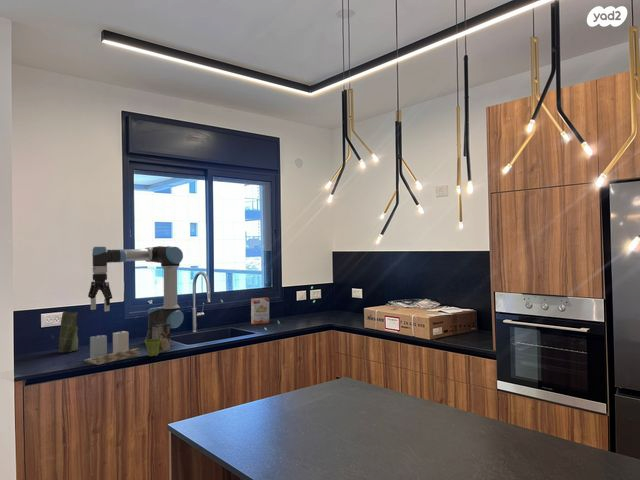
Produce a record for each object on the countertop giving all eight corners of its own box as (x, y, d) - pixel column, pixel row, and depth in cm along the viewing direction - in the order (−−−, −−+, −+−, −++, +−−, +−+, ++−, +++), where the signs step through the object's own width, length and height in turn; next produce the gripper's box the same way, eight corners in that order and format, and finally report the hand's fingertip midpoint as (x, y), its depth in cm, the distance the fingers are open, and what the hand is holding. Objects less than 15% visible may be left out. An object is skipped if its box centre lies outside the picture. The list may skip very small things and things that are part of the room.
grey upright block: (101, 355, 269) (101, 334, 269) (106, 356, 266) (106, 335, 266) (90, 358, 263) (90, 336, 263) (95, 359, 261) (95, 337, 261)
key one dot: (123, 351, 281) (123, 330, 281) (128, 351, 278) (128, 331, 278) (112, 353, 275) (112, 332, 275) (118, 354, 272) (117, 333, 272)
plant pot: (155, 357, 270) (155, 342, 270) (141, 356, 272) (141, 341, 272) (164, 353, 279) (164, 339, 280) (150, 353, 281) (150, 338, 281)
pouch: (61, 350, 291) (60, 310, 291) (82, 349, 294) (81, 309, 294) (55, 354, 280) (55, 312, 281) (77, 353, 283) (77, 311, 284)
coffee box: (163, 348, 292) (163, 323, 293) (170, 349, 289) (170, 324, 290) (151, 351, 284) (151, 325, 285) (159, 353, 281) (159, 326, 282)
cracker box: (253, 324, 377) (253, 299, 377) (251, 323, 382) (250, 298, 382) (269, 323, 384) (269, 297, 384) (266, 322, 389) (266, 297, 389)
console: (125, 352, 284) (125, 345, 284) (139, 355, 276) (139, 348, 276) (83, 361, 262) (83, 354, 262) (98, 364, 255) (98, 357, 255)
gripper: (81, 273, 271) (81, 309, 271) (106, 274, 257) (106, 312, 257) (93, 272, 277) (94, 308, 277) (118, 273, 264) (119, 311, 264)
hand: (100, 310), depth 267 cm, fingers open, 13 cm apart
